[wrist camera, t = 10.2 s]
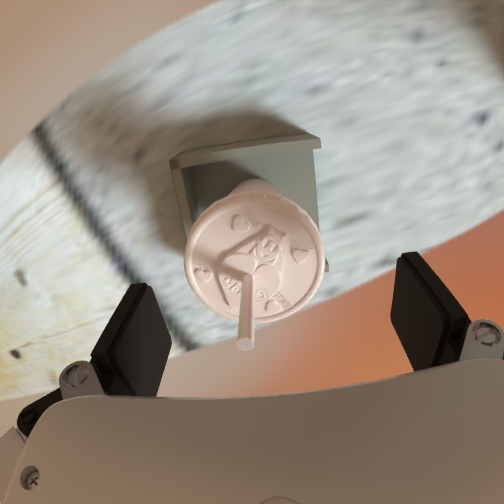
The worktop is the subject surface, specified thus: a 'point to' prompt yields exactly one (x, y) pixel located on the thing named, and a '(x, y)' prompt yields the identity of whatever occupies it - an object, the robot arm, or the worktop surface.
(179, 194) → the bay
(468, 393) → the robot arm
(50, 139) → the worktop surface
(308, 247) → the smoothie
